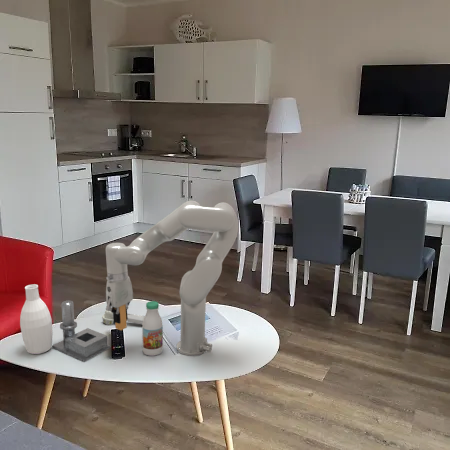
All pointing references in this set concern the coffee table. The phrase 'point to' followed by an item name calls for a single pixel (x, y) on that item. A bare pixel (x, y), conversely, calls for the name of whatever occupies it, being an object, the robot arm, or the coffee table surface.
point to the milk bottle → (152, 330)
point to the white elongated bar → (131, 318)
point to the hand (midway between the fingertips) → (120, 320)
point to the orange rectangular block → (121, 318)
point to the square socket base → (79, 337)
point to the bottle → (35, 322)
